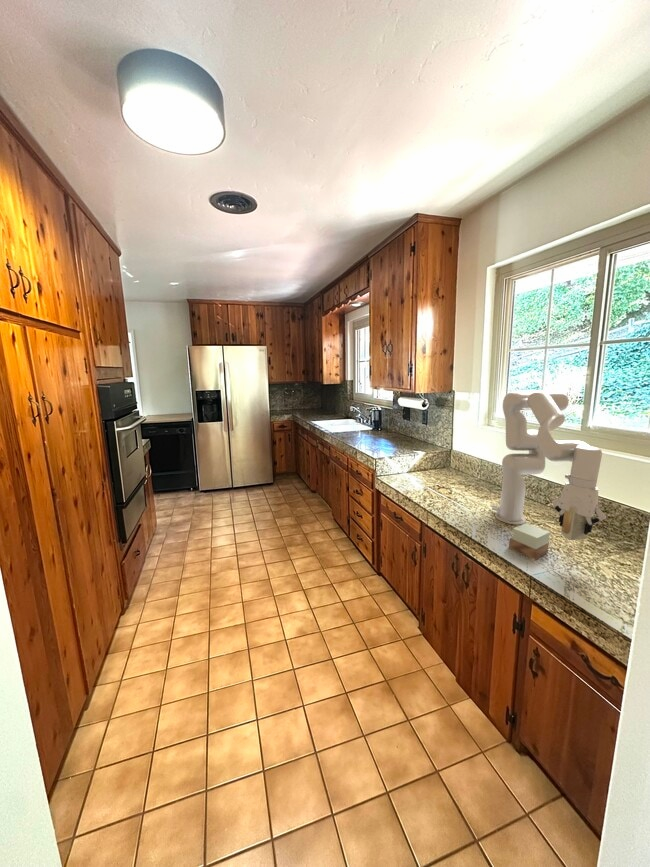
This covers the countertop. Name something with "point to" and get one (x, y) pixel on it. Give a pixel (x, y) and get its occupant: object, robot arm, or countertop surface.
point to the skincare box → (573, 525)
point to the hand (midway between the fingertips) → (574, 528)
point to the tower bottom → (528, 549)
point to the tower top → (531, 535)
